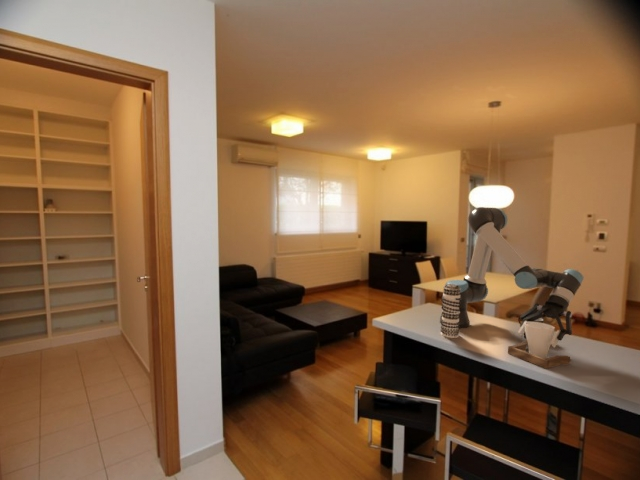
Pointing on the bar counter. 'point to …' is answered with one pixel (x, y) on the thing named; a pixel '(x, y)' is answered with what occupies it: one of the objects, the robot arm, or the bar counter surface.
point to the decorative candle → (450, 311)
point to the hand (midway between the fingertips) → (535, 339)
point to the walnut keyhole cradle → (545, 363)
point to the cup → (539, 338)
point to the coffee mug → (532, 321)
